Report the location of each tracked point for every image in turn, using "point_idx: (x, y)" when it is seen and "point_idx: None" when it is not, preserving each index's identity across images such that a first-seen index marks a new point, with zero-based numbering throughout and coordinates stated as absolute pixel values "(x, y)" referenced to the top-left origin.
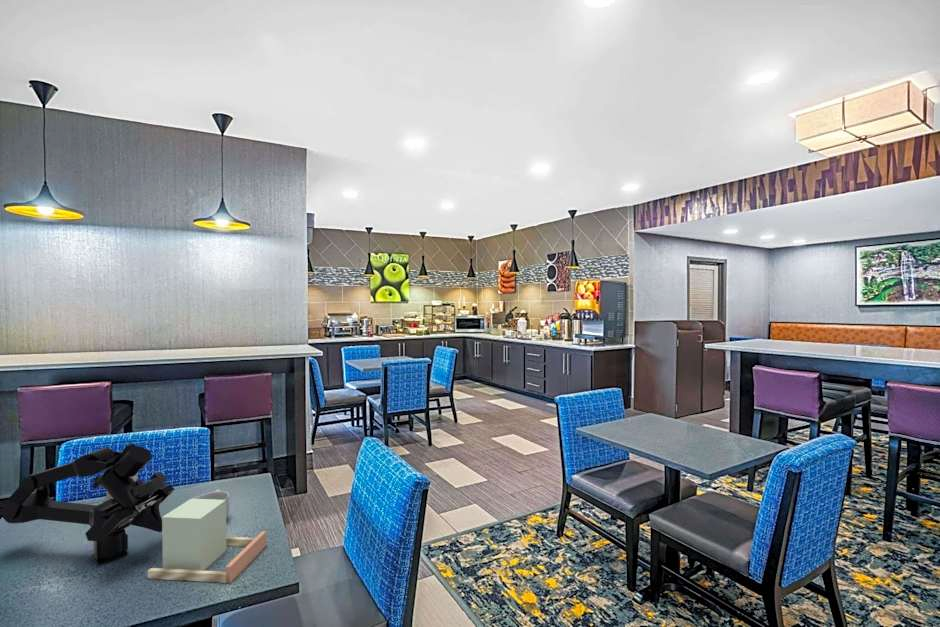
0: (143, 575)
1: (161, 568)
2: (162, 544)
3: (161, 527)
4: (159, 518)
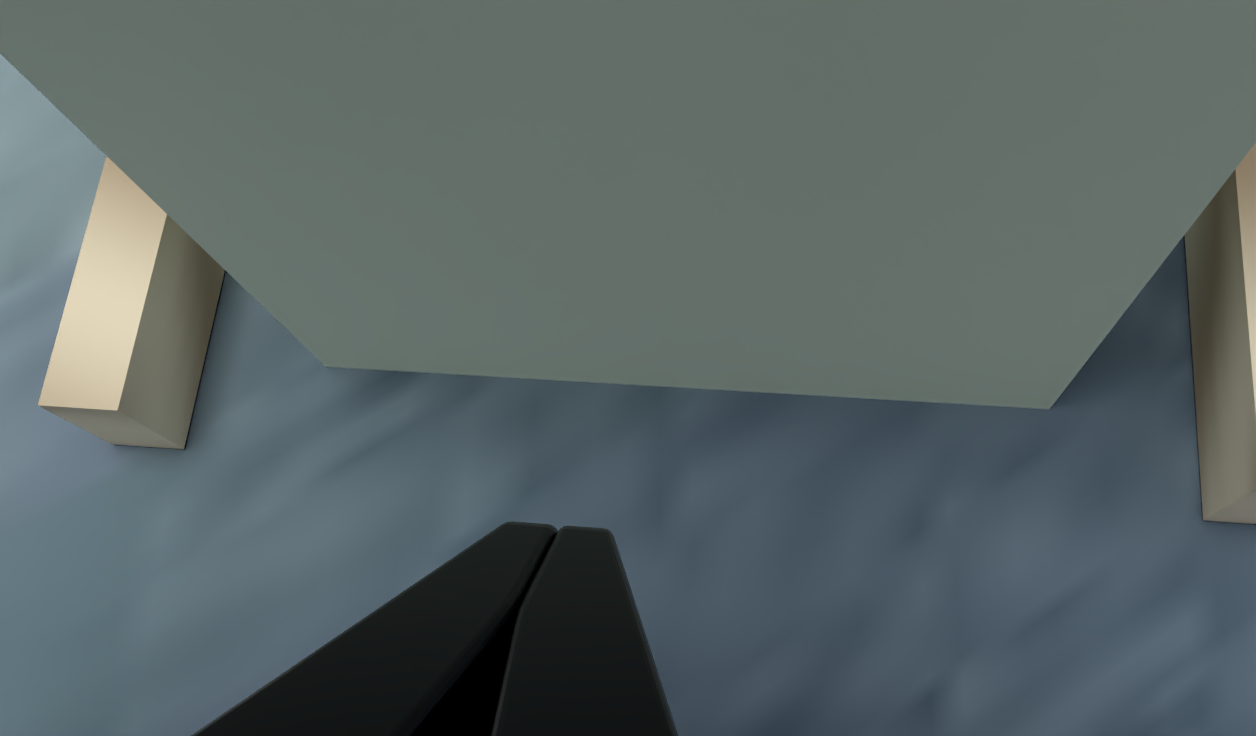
0: (1208, 672)
1: (1250, 277)
2: (1232, 172)
3: (583, 563)
4: (323, 726)
